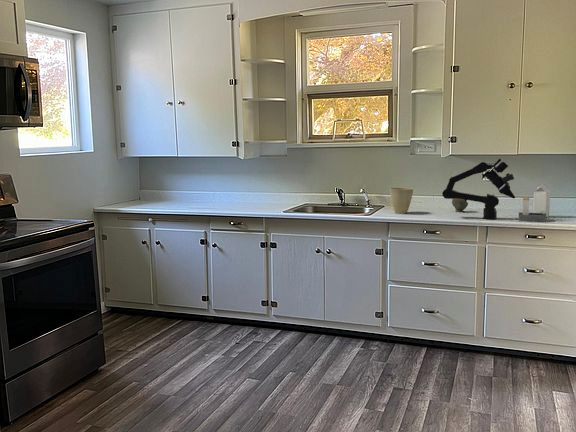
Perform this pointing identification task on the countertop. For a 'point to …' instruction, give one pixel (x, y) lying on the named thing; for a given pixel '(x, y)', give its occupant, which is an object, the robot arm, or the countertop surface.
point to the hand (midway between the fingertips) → (514, 197)
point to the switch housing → (533, 217)
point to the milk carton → (541, 200)
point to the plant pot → (401, 199)
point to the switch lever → (525, 206)
